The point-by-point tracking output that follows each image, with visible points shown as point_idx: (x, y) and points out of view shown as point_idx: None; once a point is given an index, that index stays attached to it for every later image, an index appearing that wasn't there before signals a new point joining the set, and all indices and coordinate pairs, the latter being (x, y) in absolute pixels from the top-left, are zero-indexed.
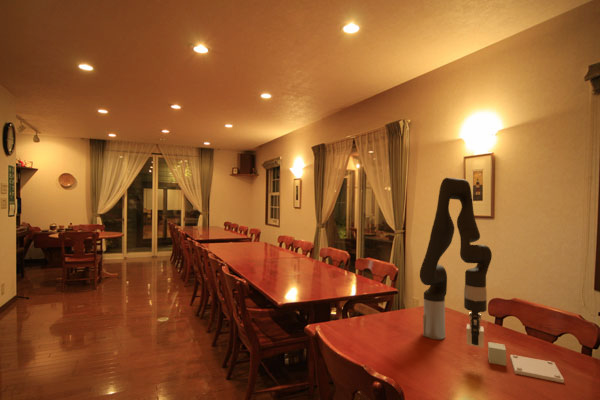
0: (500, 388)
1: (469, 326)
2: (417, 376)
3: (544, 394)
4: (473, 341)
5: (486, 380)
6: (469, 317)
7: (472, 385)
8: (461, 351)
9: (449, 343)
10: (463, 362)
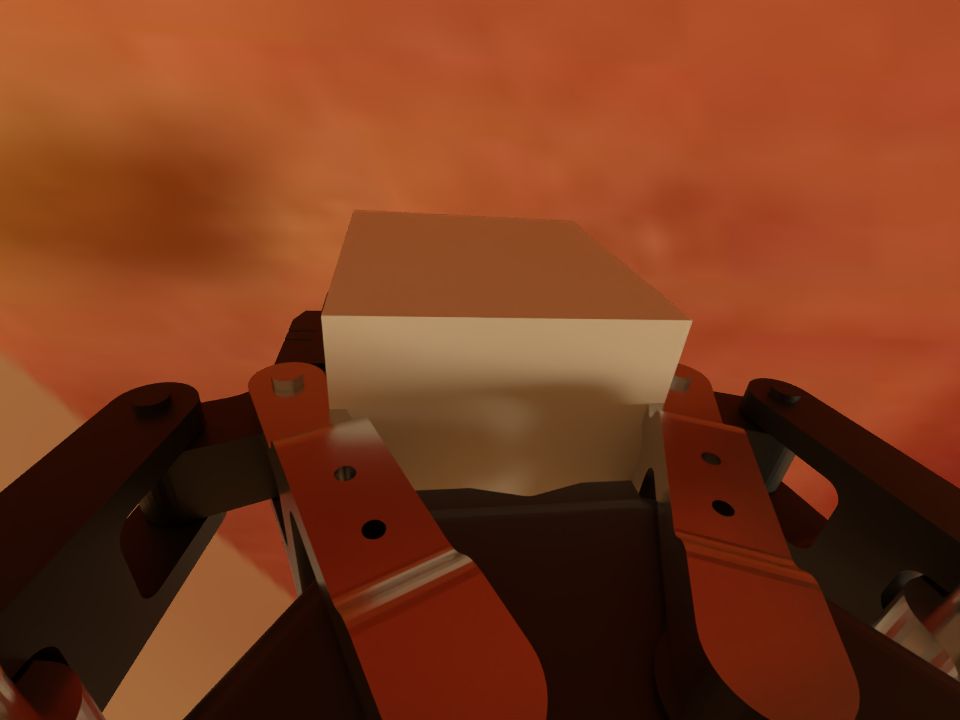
0: (137, 381)
1: (526, 370)
2: None
3: (243, 556)
4: (291, 333)
5: (204, 303)
6: (357, 664)
7: (4, 191)
8: (707, 128)
9: (887, 5)
10: (465, 134)
